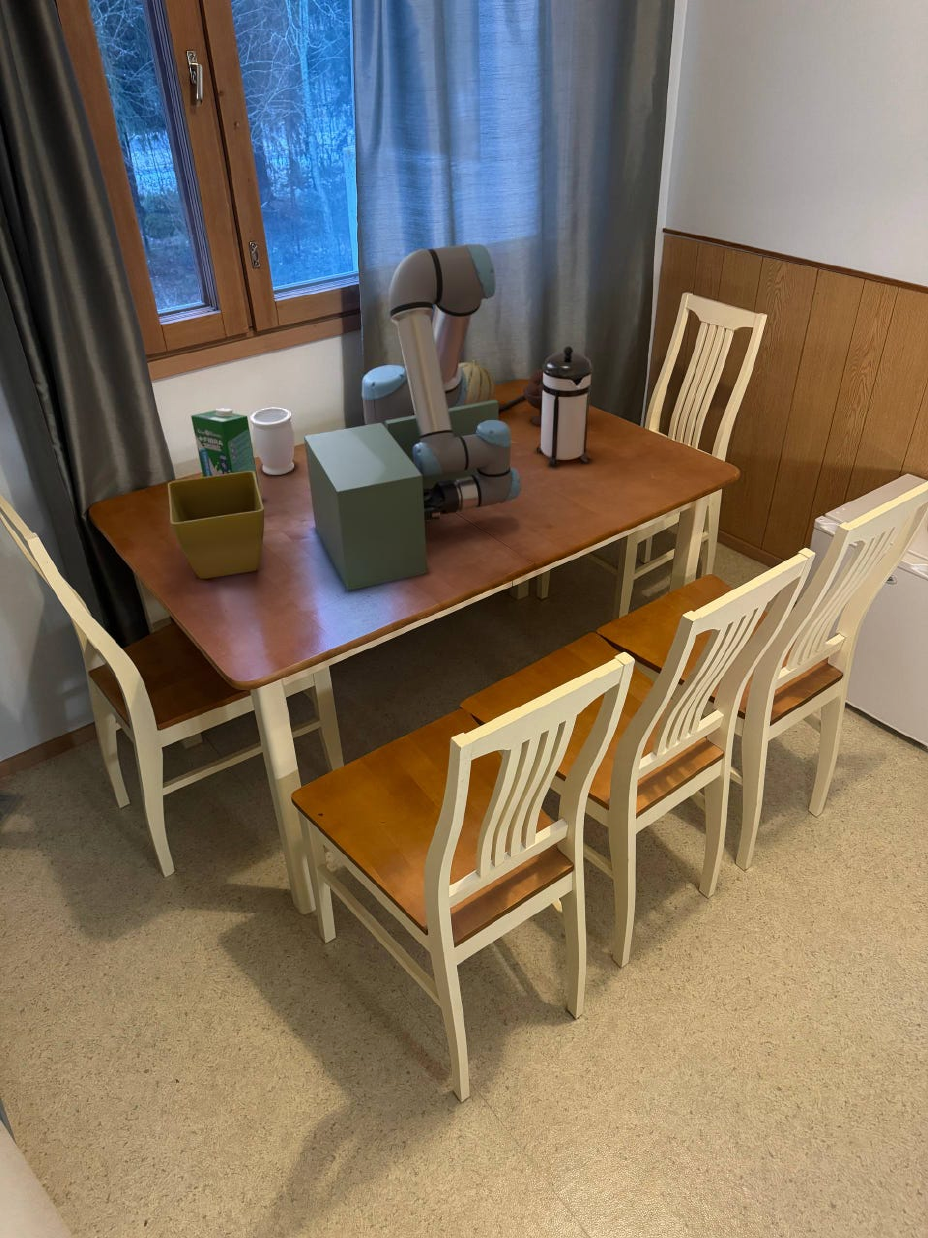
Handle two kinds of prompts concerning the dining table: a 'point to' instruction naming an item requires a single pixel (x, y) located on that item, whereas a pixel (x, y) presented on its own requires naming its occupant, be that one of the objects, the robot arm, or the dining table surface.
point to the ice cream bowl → (535, 394)
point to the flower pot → (218, 522)
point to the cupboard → (367, 505)
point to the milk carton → (223, 442)
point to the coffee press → (565, 406)
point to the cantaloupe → (477, 383)
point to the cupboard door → (462, 425)
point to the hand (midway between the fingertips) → (357, 515)
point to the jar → (274, 439)
